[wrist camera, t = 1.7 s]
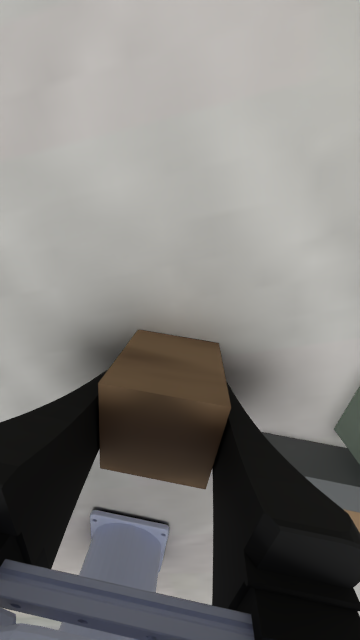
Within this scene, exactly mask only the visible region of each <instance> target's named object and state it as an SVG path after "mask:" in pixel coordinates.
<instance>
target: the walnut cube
mask: <svg viewBox="0 0 360 640" xmlns="http://www.w3.org/2000/svg"><path fill="white" fill-rule="evenodd" d="M98 395H99V440H100V468H102V469H107V470H112V471H117V472H122V473H127V474H132V475H137V476H142V477H147V478H151V479H156V480H161V481H166V482H171V483H176V484H181V485H186V486H191V487H196V488H201V489H206V486H207V483H208V480H209V477H210V473H211V470H212V467H213V464H214V461H215V457H216V454H217V451H218V448H219V445H220V441H221V438H222V435H223V432H224V429H225V425H226V422H227V419H228V416H229V413H230V410H231V404H230V399H229V394H228V388H227V383H226V378H225V373H224V368H223V363H222V358H221V353H220V347H219V343H214V342H209V341H203V340H197V339H191V338H185V337H179V336H173V335H167V334H161V333H156V332H150V331H144V330H137V332H136V333H135V334H134V336H133V337H132V339H131V340H130V341H129V343H128V344H127V345H126V347H125V348H124V349H123V351H122V352H121V353H120V355H119V356H118V357H117V359H116V360H115V361H114V363H113V364H112V365H111V367H110V368H109V369H108V371H107V372H106V373H105V375H104V376H103V377H102V379H101V380H100V381H99V383H98Z"/></svg>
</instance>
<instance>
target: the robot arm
mask: <svg viewBox="0 0 360 640" xmlns="http://www.w3.org/2000/svg"><path fill="white" fill-rule="evenodd" d="M107 371H108V370H106V371H105V372H103V373H102V374H100V375H99V376H97V377H96V378H94V379H93V380H91V381H90V382H88V383H86V384H85V385H83V386H81V387H80V388H78V389H76V390H75V391H73V392H71V393H69V394H67V395H65V396H63V397H61V398H59V399H57V400H55V401H53V402H51V403H49V404H46V405H44V406H42V407H40V408H37V409H35V410H33V411H30V412H28V413H25V414H23V415H20V416H17V417H15V418H12V419H9V420H6V421H3V422H0V640H360V616H359V614H358V612H357V611H360V602H359V600H358V597H357V595H356V593H355V591H354V589H353V587H354V586H356V585H357V584H358V583H359V582H360V533H359V531H358V529H357V527H356V526H355V524H354V522H353V520H352V519H351V517H350V516H349V514H348V513H347V512H346V511H344V510H343V509H342V508H341V507H340V506H338V505H337V504H336V503H335V502H333V501H332V500H331V499H330V498H329V497H327V496H326V495H325V494H324V493H323V492H321V491H320V490H319V489H318V488H317V487H315V486H314V485H313V484H312V483H311V482H310V481H309V480H308V479H306V478H305V477H304V476H303V475H302V474H301V473H300V472H299V471H298V470H297V469H296V468H295V467H293V466H292V465H291V464H290V463H289V462H288V461H287V460H286V459H285V458H284V457H283V456H282V455H281V454H280V453H279V452H278V451H277V449H276V448H275V447H274V446H273V445H272V444H271V443H270V442H269V441H268V440H267V438H266V437H265V436H264V435H263V434H262V433H261V431H260V430H259V429H258V428H257V427H256V425H255V424H254V423H253V421H252V420H251V419H250V417H249V416H248V414H247V413H246V412H245V410H244V409H243V407H242V406H241V404H240V403H239V401H238V400H237V398H236V396H235V395H234V393H233V392H232V390H231V388H230V387H229V385H228V383H227V382H226V383H227V388H228V394H229V399H230V404H231V410H230V413H229V416H228V419H227V422H226V425H225V429H224V432H223V435H222V438H221V441H220V445H219V448H218V451H217V454H216V457H215V461H214V464H213V467H212V470H213V597H212V605H208V604H203V603H199V602H194V601H190V600H185V599H181V598H177V597H172V596H168V595H163V594H159V593H156V586H157V578H158V572H160V569H161V565H162V561H163V556H164V552H165V547H166V543H167V539H168V534H169V526H168V525H165V524H161V523H156V522H151V521H146V520H142V519H137V518H132V517H127V516H123V515H118V514H113V513H108V512H103V511H99V510H93V511H92V512H91V514H90V525H91V544H90V547H89V550H88V552H87V555H86V558H85V561H84V563H83V566H82V569H81V571H80V574H79V575H74V574H70V573H65V572H61V571H56V570H52V569H51V568H52V565H53V562H54V560H55V557H56V554H57V552H58V549H59V547H60V544H61V541H62V539H63V536H64V533H65V531H66V528H67V525H68V523H69V520H70V518H71V515H72V513H73V510H74V508H75V505H76V503H77V500H78V498H79V495H80V493H81V490H82V488H83V486H84V483H85V481H86V478H87V476H88V474H89V471H90V469H91V467H92V464H93V462H94V460H95V457H96V455H97V453H98V451H99V449H100V440H99V395H98V383H99V381H100V380H101V379H102V377H103V376H104V375H105V373H106V372H107ZM3 608H6V609H10V610H14V611H18V612H23V613H27V614H31V615H35V616H39V617H44V618H48V619H52V620H56V621H61V622H62V623H61V626H60V628H59V630H55V629H51V628H46V627H42V626H36V625H29V624H22V623H20V624H16V614H14V613H12V612H10V611H7V610H5V609H3Z"/></svg>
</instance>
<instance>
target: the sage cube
mask: <svg viewBox="0 0 360 640" xmlns="http://www.w3.org/2000/svg"><path fill="white" fill-rule="evenodd" d="M334 430H335V431H336V433H337V434H338V435H339V437H340V438H341V440H342V441H343V442H344V444H345V445H346V446H347V448H348V449H349V451H350V452H351V453H352V455H353V456H354V457H355V459H356V460H357V461H358V463H359V464H360V387H359V388H358V390H357V392H356V393H355V395H354V397H353V398H352V400H351V402H350V403H349V405H348V407H347V408H346V410H345V412H344V413H343V415H342V416H341V418H340V420H339V421H338V423H337V425H336V426H335V428H334Z"/></svg>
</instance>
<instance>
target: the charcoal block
mask: <svg viewBox="0 0 360 640" xmlns="http://www.w3.org/2000/svg"><path fill="white" fill-rule="evenodd" d="M262 434H263V435H264V436H265V437H266V438H267V440H268V441H269V442H270V443H271V444H272V445H273V446H274V447H275V448H276V449H277V451H278V452H279V453H280V454H281V455H282V456H283V457H284V458H285V459H286V460H287V461H288V462H289V463H290V464H291V465H292V466H293V467H295V468H296V469H297V470H298V471H299V472H300V473H301V474H302V475H303V476H304V477H305V478H306V479H308V480H309V481H310V482H311V483H312V484H313V485H314V486H315V487H317V488H318V489H319V490H320V491H321V492H323V493H324V494H325V495H326V496H327V497H329V498H330V499H331V500H332V501H333V502H335V503H336V504H337V505H338V506H340V507H341V508H342V509H343V510H344V511H346V512H347V513H348V514H349V516H350V517H351V519H352V520H353V522H354V524H355V526H356V527H357V529H358V531H359V533H360V464H359V463H358V461H357V460H356V459H355V457H354V456H353V455H352V453H351V452H350V451H349V449H348V448H343V447H338V446H332V445H327V444H322V443H316V442H311V441H306V440H300V439H295V438H290V437H284V436H279V435H274V434H269V433H263V432H262Z"/></svg>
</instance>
